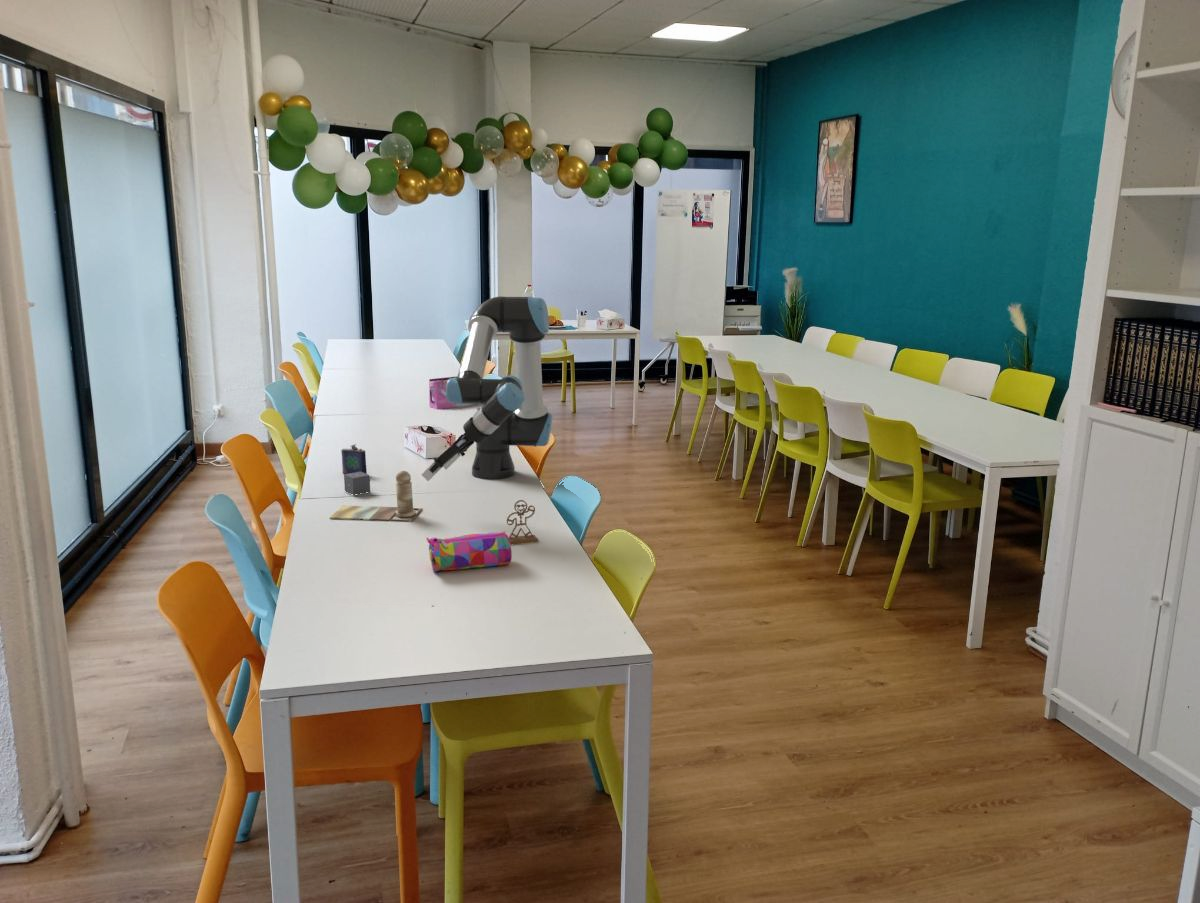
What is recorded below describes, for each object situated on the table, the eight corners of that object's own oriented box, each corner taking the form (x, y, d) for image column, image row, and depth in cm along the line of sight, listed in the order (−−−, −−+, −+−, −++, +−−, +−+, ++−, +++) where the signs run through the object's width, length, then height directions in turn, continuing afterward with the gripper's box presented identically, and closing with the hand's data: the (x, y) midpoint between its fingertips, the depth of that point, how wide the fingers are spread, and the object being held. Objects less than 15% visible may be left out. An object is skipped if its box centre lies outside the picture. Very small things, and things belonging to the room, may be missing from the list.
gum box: (434, 410, 437) (433, 381, 434) (426, 407, 443) (425, 379, 440) (478, 404, 452) (477, 377, 448) (470, 402, 458) (469, 374, 454)
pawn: (417, 511, 284) (414, 468, 281) (414, 517, 278) (411, 473, 275) (397, 512, 284) (394, 468, 281) (394, 517, 278) (391, 473, 275)
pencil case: (430, 578, 232) (429, 544, 230) (425, 565, 241) (423, 532, 239) (514, 569, 239) (514, 536, 237) (507, 557, 248) (506, 525, 245)
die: (370, 492, 304) (369, 475, 302) (353, 496, 300) (352, 478, 298) (361, 488, 308) (360, 471, 307) (344, 492, 304) (343, 474, 303)
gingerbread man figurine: (507, 545, 256) (506, 503, 253) (503, 540, 260) (503, 499, 257) (538, 542, 259) (538, 501, 256) (534, 537, 263) (534, 497, 260)
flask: (341, 474, 325) (339, 444, 323) (345, 472, 328) (344, 442, 326) (364, 476, 323) (363, 446, 320) (368, 474, 326) (367, 444, 323)
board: (422, 509, 287) (422, 507, 287) (412, 521, 275) (412, 520, 275) (343, 507, 288) (343, 505, 288) (329, 519, 276) (329, 517, 276)
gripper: (487, 408, 280) (442, 452, 287) (456, 424, 257) (407, 473, 263) (504, 426, 280) (458, 470, 287) (474, 444, 257) (425, 492, 264)
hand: (434, 471), depth 275 cm, fingers open, 13 cm apart
